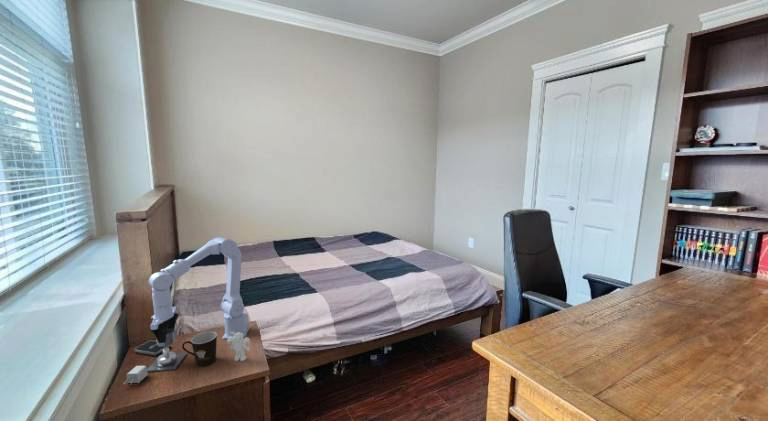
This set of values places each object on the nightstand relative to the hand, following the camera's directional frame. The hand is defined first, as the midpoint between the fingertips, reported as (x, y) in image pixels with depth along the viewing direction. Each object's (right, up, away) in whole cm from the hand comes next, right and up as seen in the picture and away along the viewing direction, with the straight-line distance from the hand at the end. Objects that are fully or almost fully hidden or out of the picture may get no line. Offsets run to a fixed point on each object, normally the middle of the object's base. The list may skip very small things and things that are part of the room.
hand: (166, 337), depth 122 cm
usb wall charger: (-4, -12, -10) cm, 16 cm away
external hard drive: (-11, -9, +9) cm, 17 cm away
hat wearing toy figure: (+27, -9, +2) cm, 29 cm away
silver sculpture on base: (0, -10, 0) cm, 10 cm away
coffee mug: (+13, -10, +1) cm, 17 cm away
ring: (0, -2, 0) cm, 2 cm away
